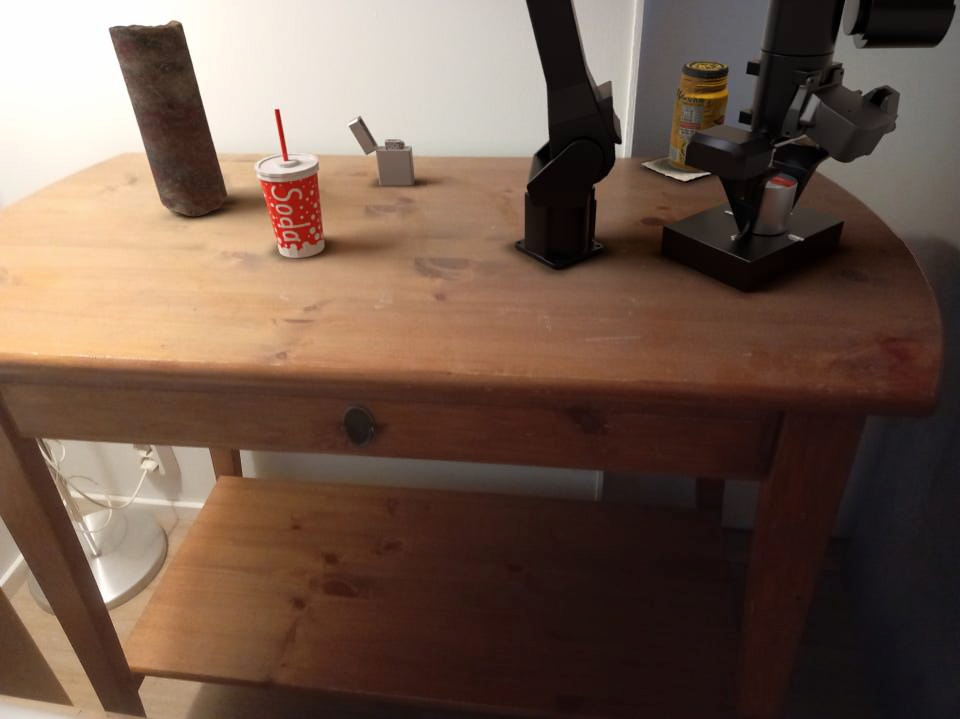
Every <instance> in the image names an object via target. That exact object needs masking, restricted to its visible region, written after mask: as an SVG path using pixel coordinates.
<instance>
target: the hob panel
mask: <svg viewBox="0 0 960 719" xmlns="http://www.w3.org/2000/svg"><path fill="white" fill-rule="evenodd" d="M844 224H845V220H844V219H842V218H839V217H836V216H832V215H829V214H827V213H823V212H821V211H818V210H815V209H812V208H808V207H806V206H803V205H800V204H797V203H796V205H795V206H794V208H793V210H792V212H791V216H790V220H789V225H788V229H787V230H786V231H785V232H784V233H781V234H777V235H760V234H755V233H751V234H749V235H745V234H744V233H742V232H741V233H740V232H739V230H738V227H737V224H736V221H735V218H734V216H733V213H732V210H731V207H730V204H729V201H727V202H724V203H721V204H718V205H716V206H713V207H710V208H708V209H705V210H702V211H700V212H697V213H694V214H691V215H689V216H686V217H683V218H680V219H678V220H675V221H673V222H670V223H668V224H667V223H666V224H665V225H663V227H662V235H661V245H660V253H659V254H660V255H661V256H663V257H665V258H668V259H670V260H672V261H674V262H677V263H679V264H681V265H684V266H686V267H688V268H690V269H692V270H695V271H697V272H699V273H701V274H703V275H705V276H707V277H710V278H711V279H714V280H716V281H719V282H721V283H723V284H725V285H727V286H730V287H732V288H734V289H736V290H739V291H741V292H743V293H747V292H749V291H750V290H752V289H755V288H757V287H759V286H761V285H764V284H765V283H767V282H770V281H773V280H774V279H776V278H778V277H780V276H783V275H785V274H787V273H789V272H791V271H793V270H796V269H797V268H800V267H802V266H804V265H806V264H808V263H811V262H812V261H815V260H817V259H819V258H821V257H823V256H826V255H828V254H830V253H832V252H834V251H836V250H838V248H839V244H840V240H841V236H842V232H843V228H844Z"/></svg>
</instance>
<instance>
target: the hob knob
mask: <svg viewBox="0 0 960 719" xmlns="http://www.w3.org/2000/svg"><path fill="white" fill-rule="evenodd" d="M796 188H797V180H796V179H795V178H794V177H792V176H789V175H786V174H783V173H780V174H779V175H778V176H776V177H775V178H773V179H772V180H770V181H769V182H768V183H767V184H766V186H765V190H764V194H763V197H762V201H761V204H760V208H759V211H758V215H757V218H756V221H755V224H754V227H753V230H752V232H751V233H755V234H760V235H777V234H781V233H784V232H785V231H786V230H787V229H788V225H789V220H790V216H791V211H792V206H793V202H794V197H795V192H796Z"/></svg>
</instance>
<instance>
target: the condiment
mask: <svg viewBox="0 0 960 719" xmlns="http://www.w3.org/2000/svg"><path fill="white" fill-rule="evenodd" d="M729 68H730V67H729V66H728V65H727V64H725V63H723V62H718V61H712V60H698V61H697V60H695V61H690V62H687V63H685V64H683V66H682V69H681V77H680V80H679V82H680V84H679V86H678V87H677V89H676V92H675V99H674V106H673V115H672V124H671V134H670V142H669V149H668V150H669V151H668V156H667V157H661V158H659V159H655V160H652V161H646V162H643V163H642V166H645V167H646V168H649V169H651V170H654V171H655V172H658V173H660V174H663V175H665V176H669V177H671V178H674V179H676V180H680V181H683V182H687V181H689V180H694V179H695V178H699V177H702V176H707V175H711V173H708V172H705V171H702V170H699V169H696V168H693V167H690V166H687V165H684V157H685V148H686V140H688V139H689V138H690V137H691V136H692V135H693V134H695V133H696V132H698V131H702V130H705V129H708V128H712V127H715V126H718V125H722V124H724V125H725V121H726V120H725V119H726V112H727V107H728V102H729V90H728V88H727V84H728V76H729Z"/></svg>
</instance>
